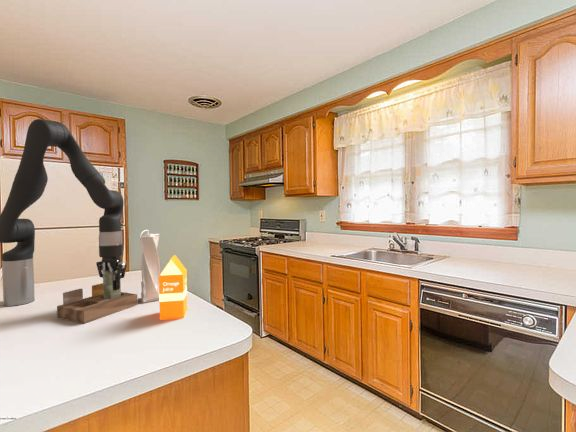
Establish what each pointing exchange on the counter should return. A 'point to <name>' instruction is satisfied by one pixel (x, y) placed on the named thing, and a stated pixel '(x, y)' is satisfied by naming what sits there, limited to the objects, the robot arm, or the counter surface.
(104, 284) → the green plug
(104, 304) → the socket block
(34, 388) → the counter surface
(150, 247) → the skyscraper
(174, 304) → the orange juice
